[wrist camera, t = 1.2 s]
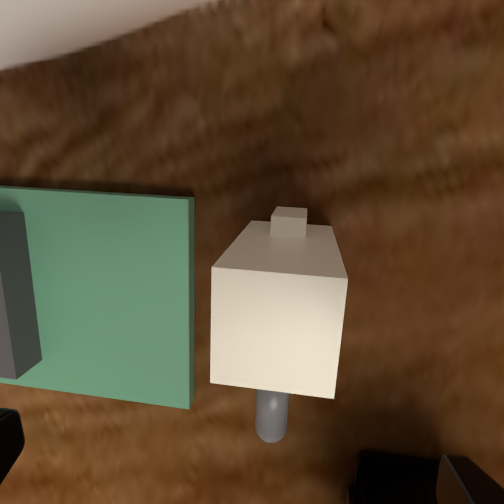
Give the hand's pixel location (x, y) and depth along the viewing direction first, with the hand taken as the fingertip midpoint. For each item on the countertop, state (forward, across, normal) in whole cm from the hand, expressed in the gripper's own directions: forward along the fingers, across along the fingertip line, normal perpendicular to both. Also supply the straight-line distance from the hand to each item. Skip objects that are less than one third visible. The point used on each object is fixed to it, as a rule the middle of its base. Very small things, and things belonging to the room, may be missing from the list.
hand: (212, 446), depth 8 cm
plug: (+12, -1, +1) cm, 12 cm away
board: (+12, +13, +2) cm, 18 cm away
